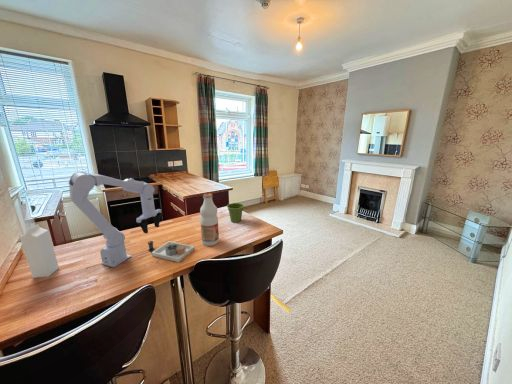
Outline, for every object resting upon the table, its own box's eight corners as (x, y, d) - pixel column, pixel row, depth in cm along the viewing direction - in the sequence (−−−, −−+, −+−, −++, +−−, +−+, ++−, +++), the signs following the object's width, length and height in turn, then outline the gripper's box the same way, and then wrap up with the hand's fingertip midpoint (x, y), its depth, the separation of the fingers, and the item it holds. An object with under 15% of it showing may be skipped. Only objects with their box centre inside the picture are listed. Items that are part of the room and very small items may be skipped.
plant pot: (237, 216, 155) (237, 201, 152) (247, 221, 146) (247, 206, 143) (224, 220, 148) (223, 205, 144) (233, 225, 139) (233, 209, 136)
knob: (151, 252, 108) (150, 244, 106) (147, 250, 108) (145, 243, 107) (156, 249, 110) (155, 241, 109) (151, 248, 111) (150, 240, 110)
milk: (59, 268, 94) (47, 223, 88) (48, 276, 89) (34, 229, 83) (43, 269, 93) (30, 224, 88) (32, 278, 88) (17, 230, 82)
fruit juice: (199, 240, 119) (196, 193, 112) (215, 236, 124) (212, 191, 117) (205, 248, 112) (202, 198, 104) (221, 243, 117) (219, 195, 109)
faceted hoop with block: (162, 253, 105) (161, 247, 104) (172, 247, 111) (171, 241, 111) (180, 258, 102) (179, 251, 101) (188, 250, 108) (188, 245, 107)
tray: (178, 262, 99) (178, 258, 99) (152, 255, 104) (151, 252, 104) (194, 249, 110) (193, 246, 110) (169, 244, 115) (168, 241, 115)
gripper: (142, 211, 100) (146, 237, 103) (164, 202, 113) (167, 225, 117) (131, 209, 102) (135, 234, 106) (154, 200, 115) (157, 223, 119)
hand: (151, 229), depth 111 cm, fingers open, 7 cm apart
